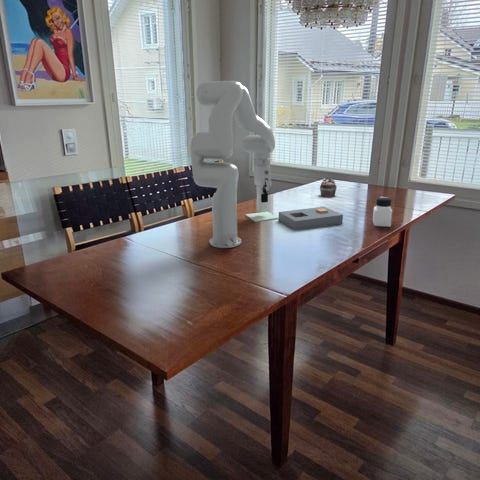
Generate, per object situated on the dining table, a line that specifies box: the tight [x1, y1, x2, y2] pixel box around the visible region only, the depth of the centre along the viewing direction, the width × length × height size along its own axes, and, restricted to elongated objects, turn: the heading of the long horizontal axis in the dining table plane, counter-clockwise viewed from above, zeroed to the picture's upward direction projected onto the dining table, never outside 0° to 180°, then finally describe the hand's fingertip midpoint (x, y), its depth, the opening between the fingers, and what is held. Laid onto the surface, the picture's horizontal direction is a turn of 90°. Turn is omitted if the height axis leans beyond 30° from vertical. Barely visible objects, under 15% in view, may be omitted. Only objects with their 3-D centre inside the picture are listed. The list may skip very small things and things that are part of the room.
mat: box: [245, 211, 279, 223], centre depth 195 cm, size 12×12×1 cm
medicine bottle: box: [372, 196, 394, 228], centre depth 179 cm, size 7×7×12 cm
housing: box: [278, 206, 344, 231], centre depth 186 cm, size 16×24×4 cm, turn 111°
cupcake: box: [319, 177, 337, 198], centre depth 234 cm, size 10×10×10 cm
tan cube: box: [316, 208, 328, 214], centre depth 188 cm, size 4×4×4 cm
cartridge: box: [256, 186, 269, 213], centre depth 192 cm, size 5×5×13 cm
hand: (261, 200), depth 193 cm, fingers closed on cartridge, 5 cm apart
